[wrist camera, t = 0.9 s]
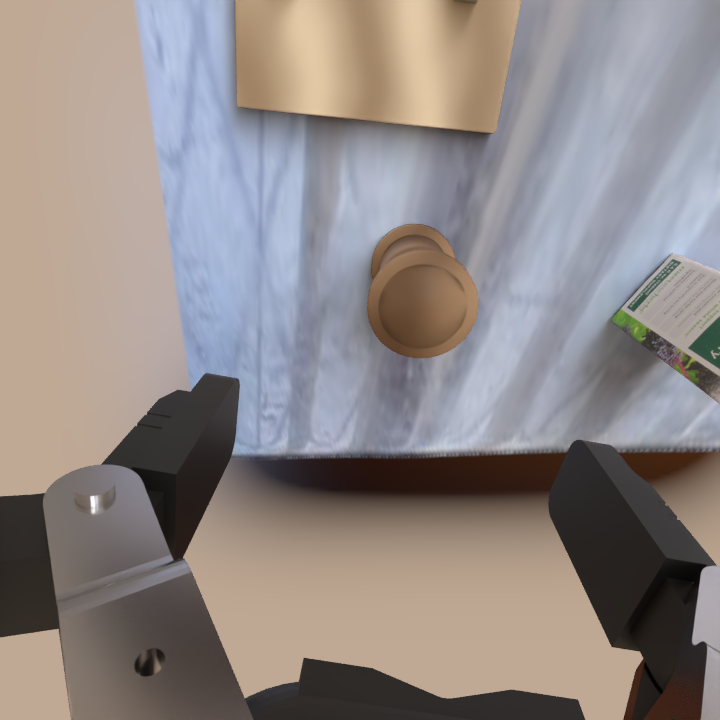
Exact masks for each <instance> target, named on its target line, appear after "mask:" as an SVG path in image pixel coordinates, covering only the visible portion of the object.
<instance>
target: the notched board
mask: <svg viewBox="0 0 720 720" xmlns="http://www.w3.org/2000/svg"><path fill="white" fill-rule="evenodd" d="M520 5H521V0H235V14H236V80H237V106H238V107H242V108H247V109H257V110H267V111H276V112H286V113H296V114H305V115H315V116H325V117H334V118H344V119H354V120H363V121H373V122H383V123H392V124H402V125H412V126H421V127H431V128H441V129H450V130H460V131H470V132H479V133H489V134H492V133H496V128H497V123H498V118H499V113H500V108H501V103H502V97H503V92H504V87H505V82H506V77H507V72H508V67H509V62H510V56H511V51H512V46H513V41H514V36H515V31H516V26H517V21H518V15H519V10H520Z"/></svg>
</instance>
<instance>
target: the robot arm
mask: <svg viewBox="0 0 720 720" xmlns="http://www.w3.org/2000/svg"><path fill="white" fill-rule="evenodd" d="M239 388H240V384H239V379H237V378H231V377H226V376H220V375H214V374H209V373H206V374H204V375H203V377H202V378H201V379H200V380H199V382H198V383H197V384H196V386H195V387H194V388H193V389H192V391H191V392H187V391H182V390H177V391H175V392H173V393H171V394H169V395H167V396H165V397H163V398H161V399H159V400H158V401H157V402H156V403H155V404H154V405H153V407H152V408H151V409H150V410H149V411H148V412H147V415H145V416H144V417H143V418H142V419H141V420H140V421H139V422H138V424H137V426H135V427H134V428H133V429H132V430H131V431H130V433H129V434H128V435H127V436H126V437H125V438H124V439H123V440H122V442H121V443H120V444H119V445H118V446H117V447H116V448H115V449H114V451H113V452H112V453H111V454H110V455H109V456H108V458H106V460H105V461H104V462H103V463H102V464H101V465H94V466H88V467H84V468H80V469H78V470H75V471H72V472H70V473H68V474H66V475H64V476H63V477H61V478H59V479H58V480H56V481H55V482H54V483H53V484H52V485H51V486H50V487H49V488H48V489H47V491H46V493H43V494H35V495H19V496H2V497H0V637H6V636H12V635H19V634H26V633H33V632H39V631H46V630H52V629H59V635H60V641H61V649H62V656H63V664H64V672H65V679H66V686H67V693H68V700H69V708H70V716H71V720H585V718H584V715H583V712H582V710H581V707H580V705H579V701H578V700H576V699H569V698H563V697H556V696H550V695H543V694H537V693H530V692H524V691H516V690H506V691H500V692H493V693H486V694H480V695H472V696H466V697H460V698H453V699H446V698H441V697H438V696H436V695H433V694H431V693H428V692H426V691H424V690H422V689H419V688H417V687H415V686H412V685H410V684H408V683H405V682H403V681H401V680H398V679H396V678H394V677H391V676H389V675H386V674H384V673H382V672H380V671H377V670H375V669H373V668H367V667H360V666H354V665H347V664H341V663H334V662H328V661H321V660H315V659H308V658H304V659H303V665H302V669H301V674H300V679H299V682H295V683H288V684H282V685H279V686H275V687H272V688H268V689H265V690H263V691H260V692H258V693H256V694H254V695H251V696H249V697H247V698H244V695H243V693H242V691H241V689H240V686H239V684H238V681H237V679H236V677H235V674H234V672H233V669H232V667H231V664H230V663H229V660H228V658H227V655H226V653H225V650H224V648H223V645H222V643H221V641H220V639H219V636H218V634H217V631H216V629H215V626H214V624H213V622H212V619H211V617H210V614H209V612H208V610H207V607H206V605H205V603H204V600H203V598H202V595H201V593H200V590H199V588H198V586H197V584H196V581H195V579H194V576H193V574H192V571H191V569H190V567H189V565H188V563H187V562H186V561H185V559H183V556H184V554H185V552H186V550H187V548H188V546H189V543H190V542H191V539H192V537H193V535H194V533H195V531H196V529H197V527H198V525H199V523H200V521H201V519H202V517H203V514H204V512H205V510H206V508H207V506H208V504H209V502H210V500H211V498H212V496H213V494H214V492H215V490H216V488H217V485H218V483H219V481H220V479H221V477H222V475H223V473H224V471H225V469H226V467H227V465H228V462H229V460H230V458H231V455H232V451H233V447H234V442H235V435H236V424H237V412H238V400H239ZM549 513H550V517H551V519H552V521H553V523H554V525H555V528H556V530H557V532H558V534H559V536H560V538H561V540H562V542H563V544H564V547H565V549H566V551H567V553H568V555H569V557H570V559H571V561H572V564H573V566H574V568H575V570H576V572H577V574H578V576H579V578H580V580H581V582H582V585H583V587H584V589H585V591H586V593H587V595H588V597H589V600H590V602H591V604H592V606H593V608H594V610H595V612H596V614H597V616H598V619H599V621H600V623H601V625H602V627H603V629H604V631H605V633H606V636H607V638H608V640H609V642H610V644H611V646H612V647H616V648H622V649H628V650H634V651H640V652H641V654H642V656H643V660H642V661H641V663H640V664H639V666H638V667H637V669H636V672H635V675H634V679H633V683H632V687H631V691H630V695H629V699H628V703H627V707H626V711H625V715H624V719H623V720H720V566H717V565H716V564H715V563H714V561H713V560H712V559H711V558H710V557H709V555H708V554H707V553H706V552H705V550H704V549H703V548H702V547H701V546H700V544H699V543H698V542H697V541H696V540H695V539H694V537H693V536H692V535H691V533H690V532H689V531H688V530H687V529H686V527H685V526H684V525H683V524H682V523H681V521H680V520H677V516H676V515H675V514H674V513H673V511H672V510H671V509H670V508H669V506H665V502H664V500H663V499H662V498H661V497H660V495H659V494H658V493H657V492H656V491H655V490H654V488H653V487H652V486H651V485H650V484H649V483H647V482H646V481H645V480H644V479H642V478H641V477H640V476H638V475H637V474H636V473H635V472H633V471H632V470H631V469H630V467H629V466H628V465H627V464H626V462H625V461H624V460H623V458H622V457H621V456H620V455H619V453H618V452H617V451H616V450H615V449H614V448H613V447H612V446H611V445H606V444H601V443H595V442H589V441H584V440H576V441H574V442H573V443H572V445H571V446H570V448H569V450H568V452H567V455H566V457H565V459H564V461H563V464H562V466H561V468H560V471H559V473H558V475H557V477H556V480H555V482H554V484H553V487H552V489H551V491H550V495H549Z"/></svg>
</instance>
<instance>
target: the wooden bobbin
mask: <svg viewBox="0 0 720 720" xmlns="http://www.w3.org/2000/svg"><path fill="white" fill-rule="evenodd" d="M372 277H373V282H372V284H371V287H370V290H369V295H368V306H367V310H368V318H369V322H370V325H371V327H372V329H373V331H374V333H375V335H376V336H377V337H378V339H379V340H380V341H381V342H382V343H383V344H384V345H385V346H387V347H388V348H389V349H391V350H392V351H394V352H396V353H398V354H401V355H404V356H407V357H413V358H429V357H434V356H438V355H441V354H443V353H446V352H448V351H450V350H451V349H453V348H455V347H456V346H457V345H458V344H460V343H461V342H462V341H463V340H464V339H465V338H466V336H467V335H468V334H469V332H470V331H471V329H472V327H473V325H474V323H475V320H476V317H477V313H478V294H477V290H476V286H475V284H474V282H473V280H472V278H471V277H470V275H469V273H468V272H467V270H466V269H465V268H464V267H463V266H462V264H460V263H459V262H458V261H457V260H456V259H455V255H454V252H453V250H452V248H451V246H450V244H449V243H448V241H447V240H446V238H445V237H444V236H443V235H442V234H441V233H440V232H438V231H437V230H435V229H433V228H431V227H429V226H426V225H421V224H407V225H403V226H400V227H397V228H395V229H394V230H392V231H390V232H389V233H388V234H386V235H385V236H384V237H383V238H382V240H381V241H380V242H379V244H378V245H377V247H376V249H375V252H374V255H373V259H372Z"/></svg>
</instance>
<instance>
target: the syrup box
mask: <svg viewBox="0 0 720 720" xmlns="http://www.w3.org/2000/svg"><path fill="white" fill-rule="evenodd" d="M612 321H613V322H614V323H615V324H616V325H618V326H619V327H620V328H621V329H623V330H624V331H625V332H627V333H628V334H629V335H631V336H632V337H633V338H635V339H636V340H637V341H639V342H640V343H641V344H642V345H644V346H645V347H646V348H648V349H649V350H650V351H652V352H653V353H654V354H656V355H657V356H658V357H659V358H661V359H662V360H663V361H665V362H666V363H667V364H669V365H670V366H671V367H673V368H674V369H675V370H677V371H678V372H679V373H680V374H682V375H683V376H684V377H686V378H687V379H688V380H690V381H691V382H692V383H694V384H695V385H696V386H697V387H699V388H700V389H701V390H703V391H704V392H705V393H706V394H708V395H709V396H710V397H712V398H713V399H714V400H715V401H717V402H718V403H719V404H720V271H717V270H715V269H712V268H710V267H707V266H705V265H702V264H700V263H697V262H695V261H693V260H691V259H688V258H686V257H684V256H681V255H678V254H671V255H670V256H669V257H668V258H667V259H666V260H665V262H664V263H663V264H662V265H661V266H660V267H659V269H658V270H657V271H656V272H655V273H654V274H653V275H652V276H651V277H650V278H649V279H648V280H647V281H646V282H645V283H644V284H643V285H642V286H641V287H640V288H639V289H638V291H637V292H636V293H635V294H634V295H633V296H632V297H631V298H630V299H629V300H628V301H627V302H626V304H625V305H624V306H623V307H622V308H621V309H620V310H619V311H618V312H617V313H616V315H615V316H614V317H613V318H612Z"/></svg>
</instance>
